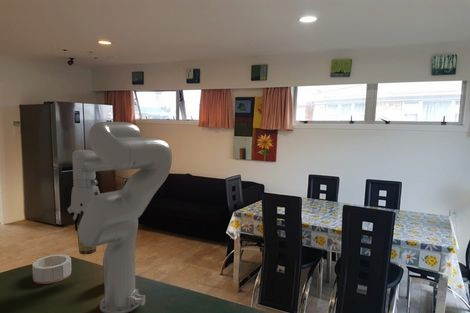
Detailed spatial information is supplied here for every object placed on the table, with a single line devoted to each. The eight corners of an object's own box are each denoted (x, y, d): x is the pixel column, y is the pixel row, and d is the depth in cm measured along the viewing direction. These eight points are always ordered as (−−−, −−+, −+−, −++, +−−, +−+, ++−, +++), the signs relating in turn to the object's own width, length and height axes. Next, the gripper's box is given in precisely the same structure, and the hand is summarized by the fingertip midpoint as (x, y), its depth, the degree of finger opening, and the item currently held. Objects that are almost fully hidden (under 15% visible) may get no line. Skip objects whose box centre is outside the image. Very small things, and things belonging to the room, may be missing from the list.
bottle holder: (78, 270, 128) (78, 256, 127) (53, 286, 116) (52, 270, 115) (51, 266, 131) (51, 252, 131) (24, 281, 119) (23, 266, 118)
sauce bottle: (85, 248, 125) (83, 198, 124) (100, 249, 124) (98, 199, 123) (74, 255, 119) (72, 202, 117) (90, 256, 118) (88, 202, 116)
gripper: (111, 182, 121) (113, 229, 122) (72, 180, 125) (74, 225, 126) (98, 185, 114) (100, 235, 115) (57, 184, 118) (59, 231, 119)
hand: (86, 230), depth 121 cm, fingers closed on sauce bottle, 6 cm apart
